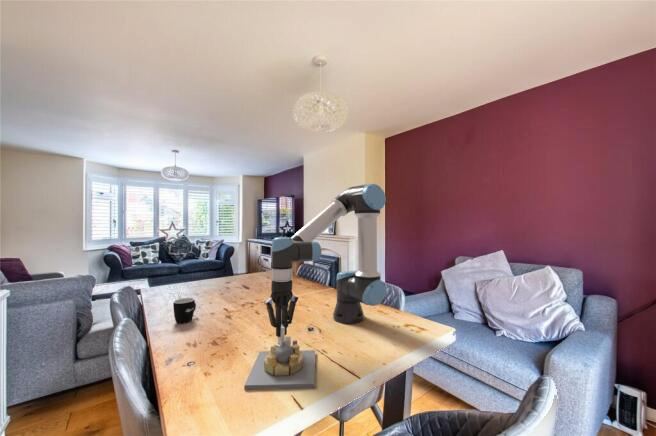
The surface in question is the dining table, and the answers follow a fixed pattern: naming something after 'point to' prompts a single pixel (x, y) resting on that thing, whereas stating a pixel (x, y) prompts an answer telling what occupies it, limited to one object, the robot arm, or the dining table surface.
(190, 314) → the mug
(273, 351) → the ring nut
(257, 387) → the hub plate
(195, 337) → the dining table surface
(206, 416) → the dining table surface
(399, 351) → the dining table surface
